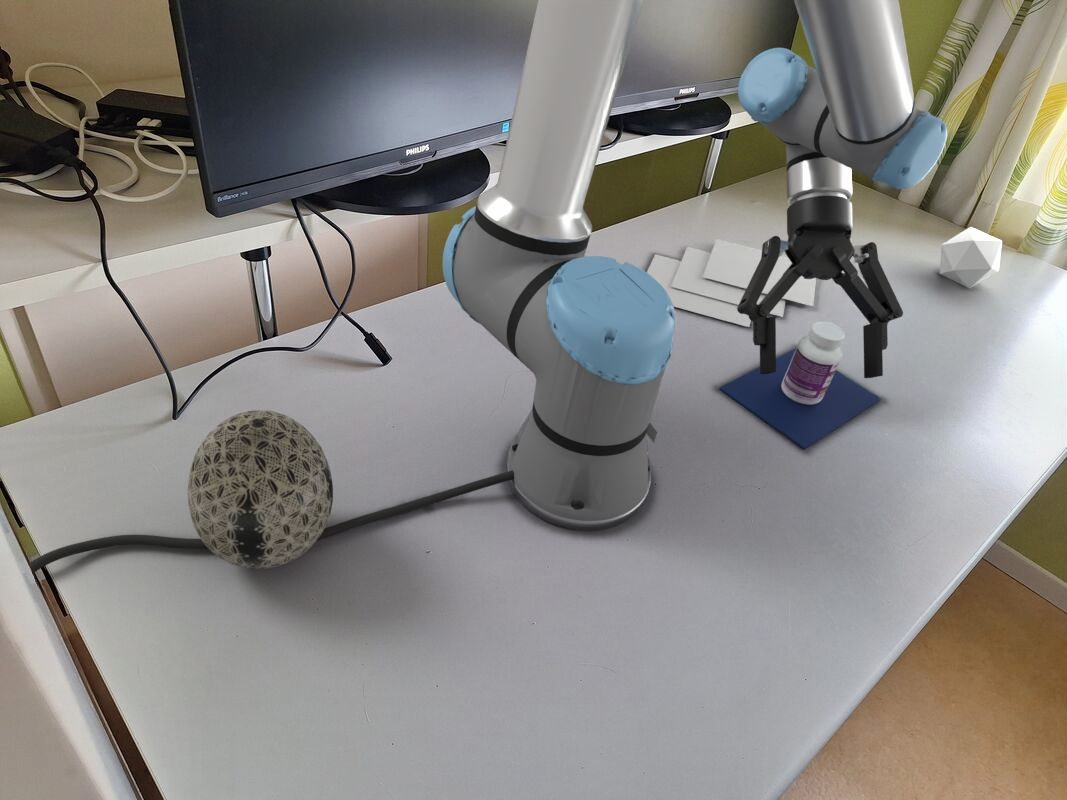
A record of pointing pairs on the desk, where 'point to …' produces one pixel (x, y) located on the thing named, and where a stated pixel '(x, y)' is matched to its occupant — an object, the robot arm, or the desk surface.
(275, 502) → the decorative egg
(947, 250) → the die
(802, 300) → the paper stack
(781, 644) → the desk surface
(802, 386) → the pill bottle
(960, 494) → the desk surface
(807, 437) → the cloth
